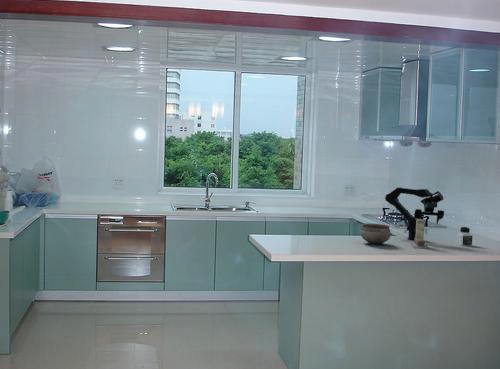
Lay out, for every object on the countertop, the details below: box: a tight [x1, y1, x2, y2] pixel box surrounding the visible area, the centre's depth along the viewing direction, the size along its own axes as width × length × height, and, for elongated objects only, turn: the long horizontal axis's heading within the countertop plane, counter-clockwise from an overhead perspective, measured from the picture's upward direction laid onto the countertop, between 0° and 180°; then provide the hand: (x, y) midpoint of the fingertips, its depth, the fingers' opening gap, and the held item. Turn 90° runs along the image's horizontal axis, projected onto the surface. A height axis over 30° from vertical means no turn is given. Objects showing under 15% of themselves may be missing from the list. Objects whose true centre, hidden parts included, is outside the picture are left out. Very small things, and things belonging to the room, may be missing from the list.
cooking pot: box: [359, 222, 393, 246], centre depth 386 cm, size 25×19×12 cm
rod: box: [415, 219, 426, 242], centre depth 385 cm, size 4×4×13 cm
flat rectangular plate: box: [409, 238, 430, 250], centre depth 385 cm, size 20×9×4 cm, turn 173°
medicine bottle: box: [456, 226, 474, 247], centre depth 399 cm, size 7×7×12 cm
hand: (430, 223), depth 395 cm, fingers open, 9 cm apart
